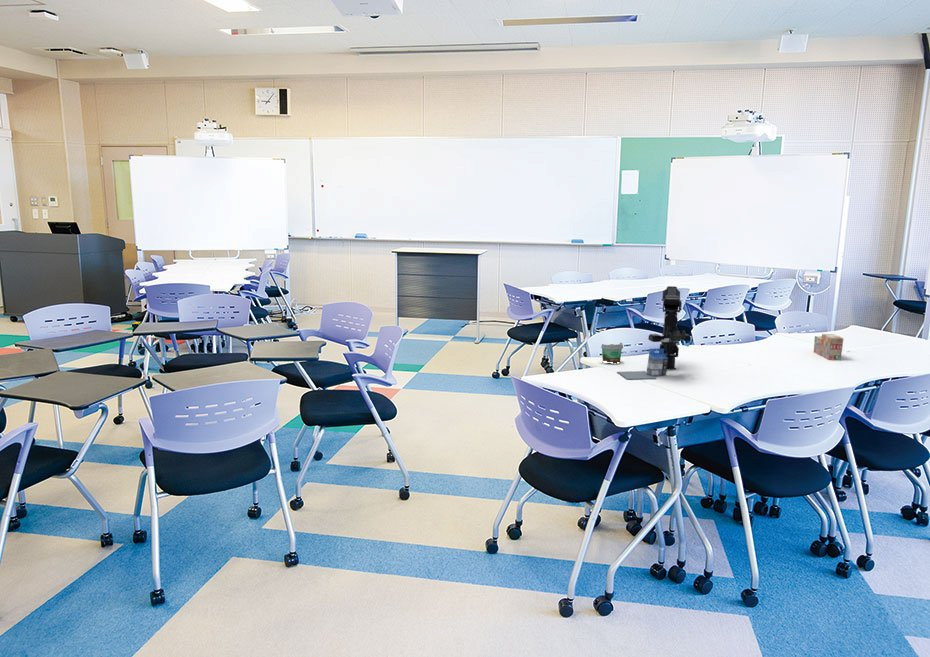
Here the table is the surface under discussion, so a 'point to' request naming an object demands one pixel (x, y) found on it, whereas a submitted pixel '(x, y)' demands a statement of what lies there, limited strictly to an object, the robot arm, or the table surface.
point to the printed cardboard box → (828, 346)
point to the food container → (611, 352)
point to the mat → (635, 375)
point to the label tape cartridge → (657, 362)
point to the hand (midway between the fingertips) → (668, 355)
